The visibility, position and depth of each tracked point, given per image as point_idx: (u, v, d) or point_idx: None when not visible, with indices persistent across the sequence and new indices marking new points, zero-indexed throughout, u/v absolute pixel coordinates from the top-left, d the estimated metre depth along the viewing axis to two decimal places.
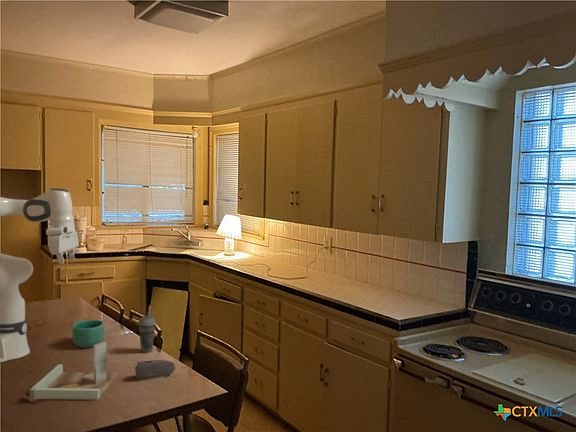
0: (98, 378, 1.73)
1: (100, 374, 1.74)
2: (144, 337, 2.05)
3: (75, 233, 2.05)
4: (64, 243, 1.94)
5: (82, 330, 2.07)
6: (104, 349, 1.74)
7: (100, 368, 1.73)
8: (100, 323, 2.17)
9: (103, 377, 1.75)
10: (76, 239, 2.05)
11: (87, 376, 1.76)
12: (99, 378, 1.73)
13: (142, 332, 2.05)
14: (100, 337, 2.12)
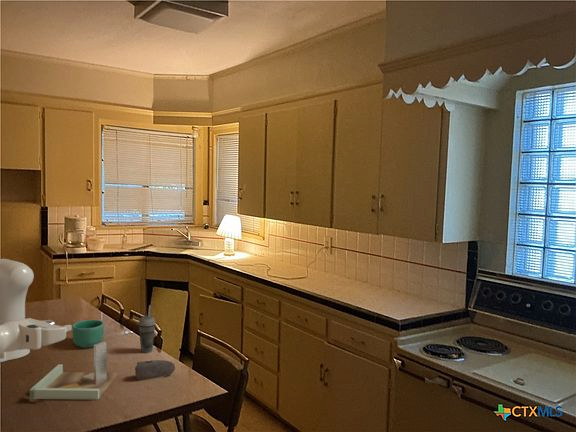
0: (98, 378, 1.73)
1: (100, 374, 1.74)
2: (144, 337, 2.05)
3: None
4: (46, 326, 1.51)
5: (82, 330, 2.07)
6: (104, 349, 1.74)
7: (100, 368, 1.73)
8: (100, 323, 2.17)
9: (103, 377, 1.75)
10: None
11: (87, 376, 1.76)
12: (99, 378, 1.73)
13: (142, 332, 2.05)
14: (100, 337, 2.12)
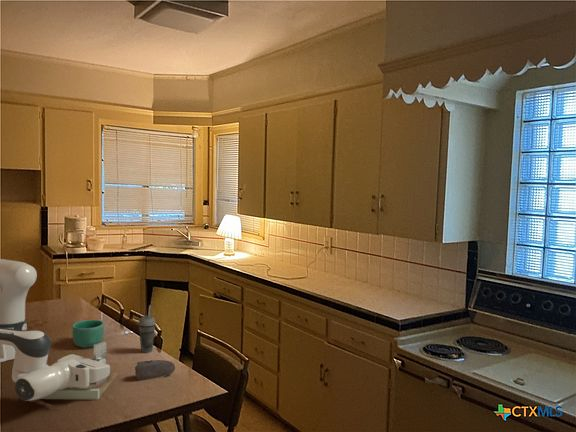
0: None
1: None
2: (144, 337, 2.05)
3: (61, 359, 1.69)
4: (91, 364, 1.65)
5: (82, 330, 2.07)
6: (104, 349, 1.74)
7: None
8: (100, 323, 2.17)
9: None
10: (68, 357, 1.71)
11: None
12: None
13: (142, 332, 2.05)
14: (100, 337, 2.12)
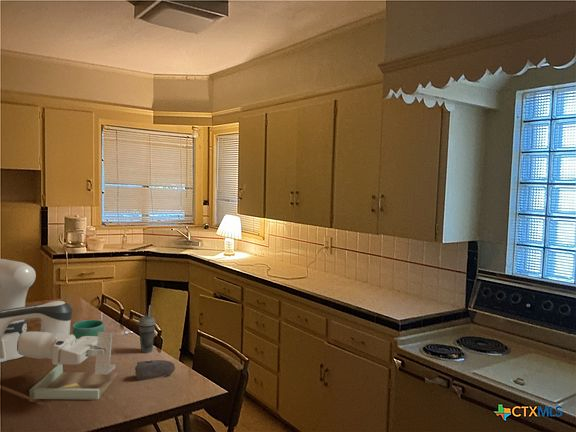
0: (97, 368, 1.66)
1: (100, 365, 1.66)
2: (144, 337, 2.05)
3: (84, 336, 1.74)
4: (77, 347, 1.62)
5: (82, 330, 2.07)
6: (108, 341, 1.66)
7: (101, 359, 1.66)
8: (100, 323, 2.17)
9: (104, 370, 1.66)
10: (92, 337, 1.74)
11: None
12: (99, 368, 1.66)
13: (142, 332, 2.05)
14: None
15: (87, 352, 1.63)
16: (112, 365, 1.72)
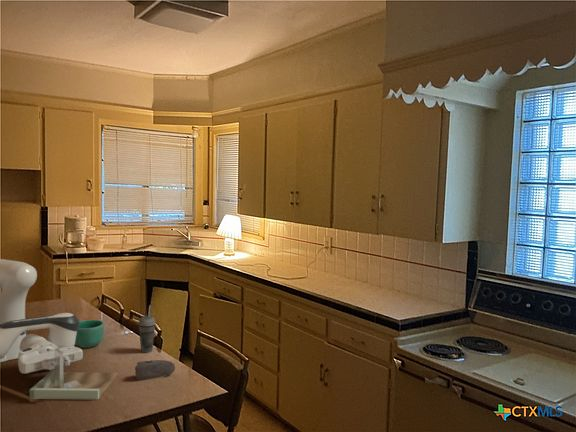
0: (55, 385, 1.66)
1: (56, 383, 1.65)
2: (144, 337, 2.05)
3: (69, 346, 1.77)
4: (38, 357, 1.67)
5: (82, 330, 2.07)
6: (58, 359, 1.64)
7: (56, 376, 1.65)
8: (100, 323, 2.17)
9: None
10: (72, 348, 1.76)
11: (73, 382, 1.70)
12: (56, 386, 1.66)
13: (142, 332, 2.05)
14: (100, 337, 2.12)
15: None
16: (76, 384, 1.68)
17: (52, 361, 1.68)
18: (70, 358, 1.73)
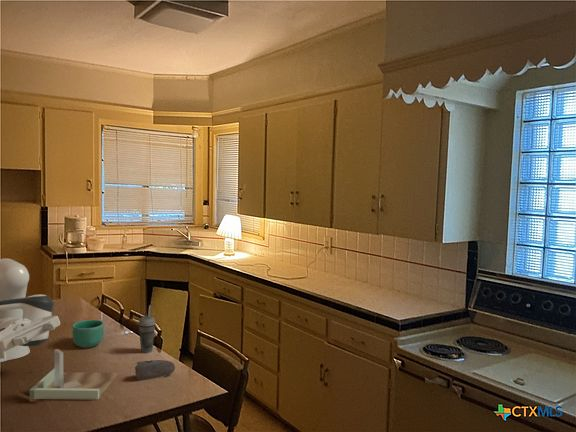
0: (55, 385, 1.66)
1: (56, 383, 1.65)
2: (144, 337, 2.05)
3: (44, 317, 1.74)
4: (14, 333, 1.63)
5: (82, 330, 2.07)
6: (58, 359, 1.64)
7: (56, 376, 1.65)
8: (100, 323, 2.17)
9: None
10: (47, 318, 1.72)
11: (73, 382, 1.70)
12: (56, 386, 1.66)
13: (142, 332, 2.05)
14: (100, 337, 2.12)
15: (22, 337, 1.62)
16: (76, 384, 1.68)
17: (30, 333, 1.64)
18: (48, 326, 1.69)
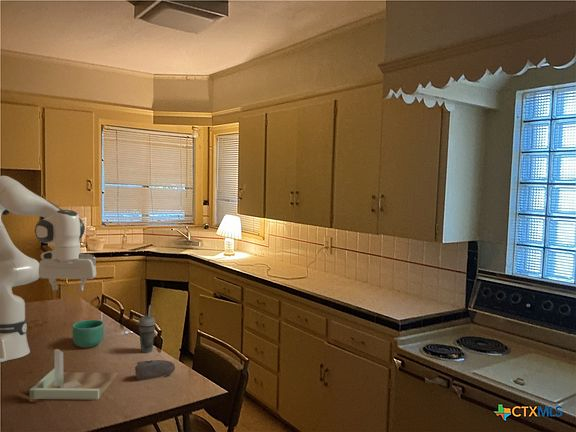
0: (55, 385, 1.66)
1: (56, 383, 1.65)
2: (144, 337, 2.05)
3: (86, 263, 1.81)
4: (54, 269, 1.81)
5: (82, 330, 2.07)
6: (58, 359, 1.64)
7: (56, 376, 1.65)
8: (100, 323, 2.17)
9: None
10: (86, 270, 1.81)
11: (73, 382, 1.70)
12: (56, 386, 1.66)
13: (142, 332, 2.05)
14: (100, 337, 2.12)
15: None
16: (76, 384, 1.68)
17: None
18: None
